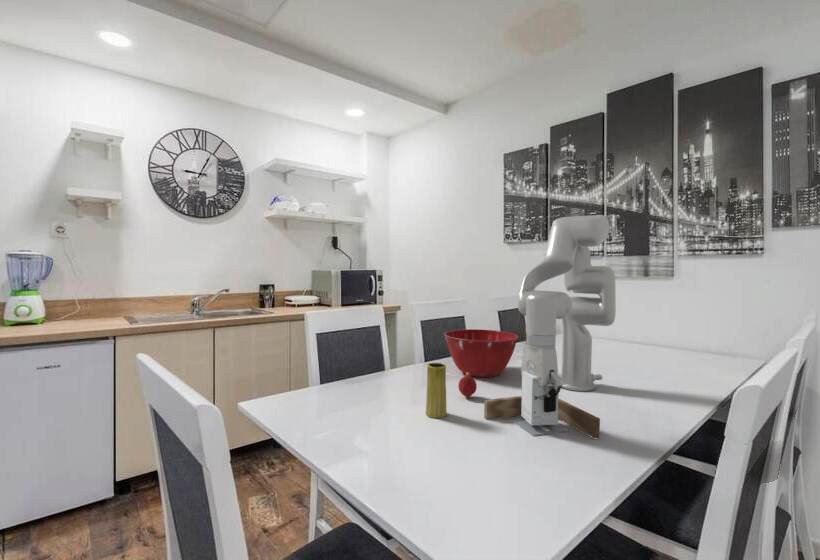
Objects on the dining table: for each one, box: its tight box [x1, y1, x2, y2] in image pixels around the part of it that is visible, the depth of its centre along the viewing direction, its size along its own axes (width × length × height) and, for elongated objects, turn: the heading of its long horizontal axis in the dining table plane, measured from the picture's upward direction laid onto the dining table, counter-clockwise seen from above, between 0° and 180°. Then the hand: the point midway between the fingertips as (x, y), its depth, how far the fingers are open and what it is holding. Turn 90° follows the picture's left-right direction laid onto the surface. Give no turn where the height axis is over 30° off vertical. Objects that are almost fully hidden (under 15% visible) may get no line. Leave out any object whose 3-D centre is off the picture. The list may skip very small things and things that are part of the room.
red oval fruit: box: [458, 373, 477, 399], centre depth 133 cm, size 6×6×8 cm
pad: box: [511, 418, 568, 437], centre depth 110 cm, size 10×10×1 cm
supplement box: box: [520, 371, 560, 426], centre depth 109 cm, size 7×7×13 cm
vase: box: [425, 362, 448, 419], centre depth 118 cm, size 6×6×14 cm
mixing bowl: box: [444, 328, 519, 378], centre depth 163 cm, size 28×28×16 cm
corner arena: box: [483, 395, 601, 439], centre depth 109 cm, size 21×21×5 cm
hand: (539, 405), depth 110 cm, fingers closed on supplement box, 8 cm apart
